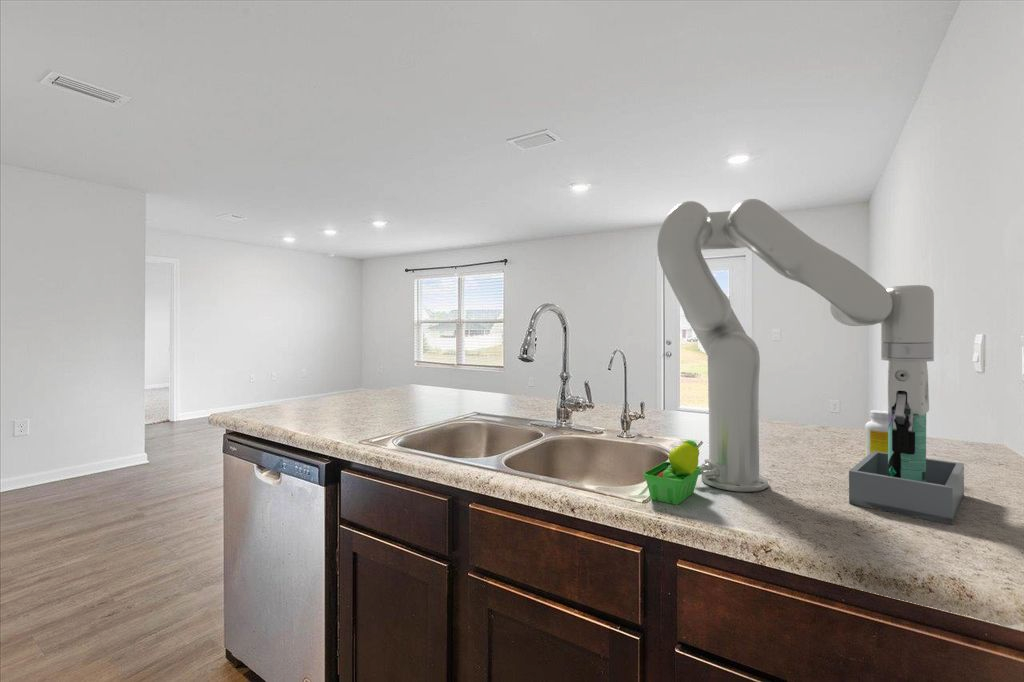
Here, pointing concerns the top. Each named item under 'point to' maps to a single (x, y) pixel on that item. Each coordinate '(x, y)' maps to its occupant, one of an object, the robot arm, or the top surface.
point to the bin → (908, 489)
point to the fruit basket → (675, 475)
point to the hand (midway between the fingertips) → (906, 448)
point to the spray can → (907, 463)
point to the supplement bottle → (876, 432)
